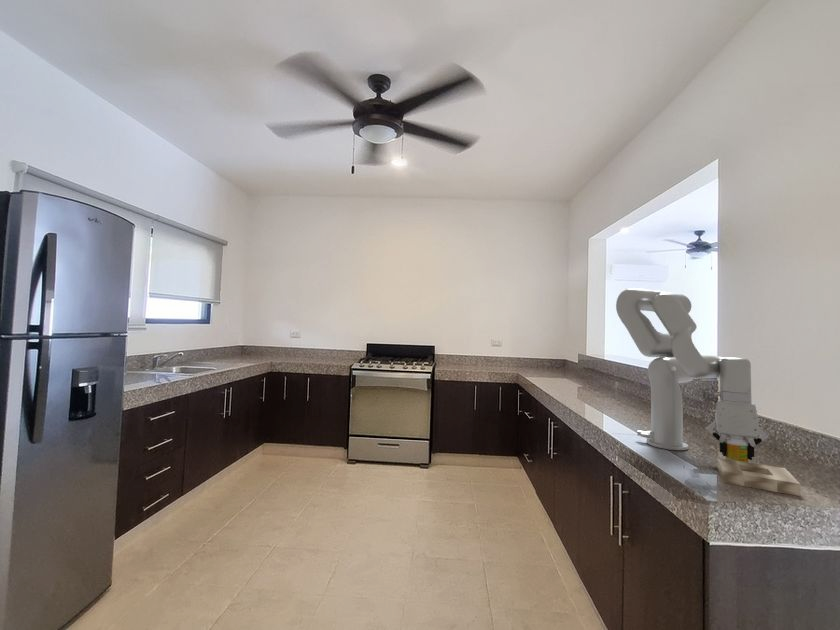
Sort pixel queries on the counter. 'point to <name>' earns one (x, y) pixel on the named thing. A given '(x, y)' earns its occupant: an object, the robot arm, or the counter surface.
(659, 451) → the counter surface
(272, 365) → the counter surface
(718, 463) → the socket board
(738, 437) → the supplement bottle
